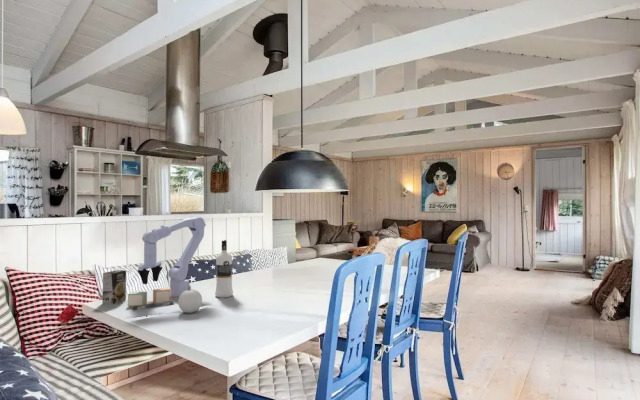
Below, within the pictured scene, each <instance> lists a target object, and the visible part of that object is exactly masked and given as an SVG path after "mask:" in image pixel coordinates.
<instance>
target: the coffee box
mask: <svg viewBox="0 0 640 400" xmlns="http://www.w3.org/2000/svg"><path fill="white" fill-rule="evenodd" d="M126 300H127V270H124V269H123V270H116V269H115V270H111V271H107V272H103V273H102V304H103V305H115V304H118V303H121V302H124V301H126Z"/></svg>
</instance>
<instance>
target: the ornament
mask: <svg viewBox="0 0 640 400" xmlns="http://www.w3.org/2000/svg"><path fill="white" fill-rule="evenodd" d="M191 287H192V286H191V285H190V286H188V290H186V291H184V292H183V293H181V295H180V296H179V297H178V299H177V301H178V302H177V304H178V308H179V309H180V310H181V311H182V312H184V313H187V314H192V313H195V312H197V311H198V310H200V308H201V307H202V304H203V303H202V302H203V297H202V294H201V293H200V291H198V290H196V289H192V288H191Z"/></svg>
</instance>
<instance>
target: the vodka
mask: <svg viewBox="0 0 640 400" xmlns="http://www.w3.org/2000/svg"><path fill="white" fill-rule="evenodd" d="M227 245H228V244H227V240H226V239H222V240H221V252H220V253H219V254H217V256H216V257H215V262H216V263H215V264H216V277H215V279H216V286H215V292H214V293H215V298H216V297H217V298H221V299H222V298H225V297H226V298H230V297H232V296H234V290H233V269H232V267H233V265H232V264H233V255H231V253H228V252H227V249H228V246H227ZM226 298H225V299H226Z"/></svg>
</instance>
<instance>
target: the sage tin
mask: <svg viewBox="0 0 640 400" xmlns="http://www.w3.org/2000/svg"><path fill="white" fill-rule="evenodd" d="M127 299H128V300H127V304H128V305H127V307H129V308H130V307H133V306H138V305H145V304H147V302H148V292H147V291H130V292H129V293H128V294H127Z"/></svg>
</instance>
